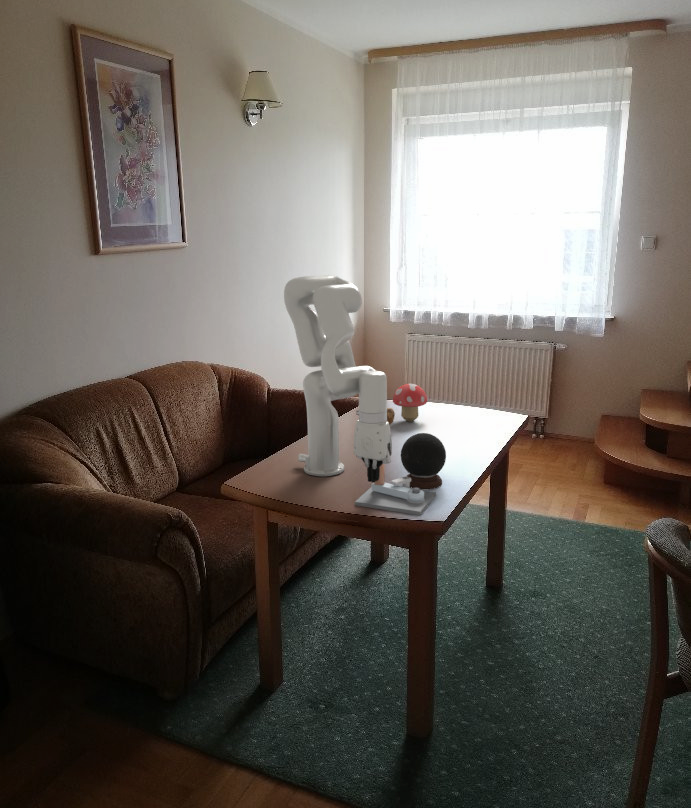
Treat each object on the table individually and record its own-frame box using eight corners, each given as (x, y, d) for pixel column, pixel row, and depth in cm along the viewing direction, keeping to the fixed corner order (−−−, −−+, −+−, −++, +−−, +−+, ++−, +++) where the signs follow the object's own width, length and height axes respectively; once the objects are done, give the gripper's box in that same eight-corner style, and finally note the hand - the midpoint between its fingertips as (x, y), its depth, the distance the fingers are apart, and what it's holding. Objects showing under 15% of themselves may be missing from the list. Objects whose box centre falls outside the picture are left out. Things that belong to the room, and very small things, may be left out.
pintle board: (436, 495, 189) (436, 479, 188) (420, 515, 176) (420, 498, 175) (374, 487, 197) (374, 471, 195) (355, 505, 184) (354, 488, 183)
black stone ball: (416, 472, 209) (417, 425, 205) (453, 481, 200) (455, 432, 197) (391, 484, 199) (391, 435, 195) (429, 494, 191) (430, 443, 187)
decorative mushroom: (428, 426, 258) (429, 387, 254) (393, 426, 258) (393, 388, 255) (425, 416, 271) (425, 380, 267) (391, 417, 271) (391, 380, 268)
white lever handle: (427, 498, 184) (427, 470, 182) (418, 503, 181) (418, 475, 179) (379, 486, 193) (379, 460, 191) (370, 491, 190) (370, 464, 188)
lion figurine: (388, 429, 255) (388, 405, 253) (398, 432, 251) (398, 408, 249) (358, 436, 246) (358, 412, 244) (367, 439, 242) (367, 415, 240)
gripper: (342, 415, 184) (343, 479, 189) (389, 423, 176) (389, 490, 180) (358, 410, 190) (358, 471, 195) (404, 417, 182) (403, 481, 186)
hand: (373, 480), depth 187 cm, fingers closed
